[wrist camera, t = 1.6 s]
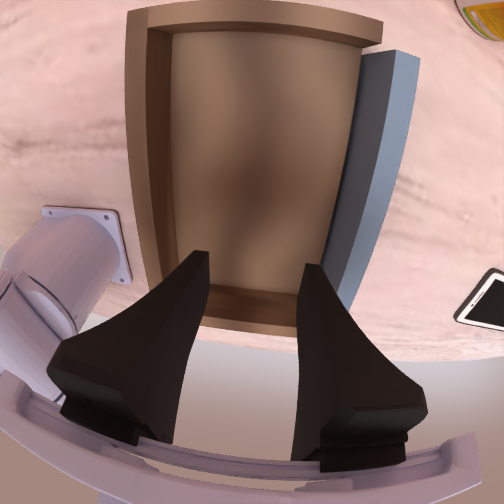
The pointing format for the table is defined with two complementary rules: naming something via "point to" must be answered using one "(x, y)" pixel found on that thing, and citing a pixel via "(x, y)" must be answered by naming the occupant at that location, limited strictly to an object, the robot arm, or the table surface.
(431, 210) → the table surface
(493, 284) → the cell phone
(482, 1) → the supplement bottle
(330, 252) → the panel
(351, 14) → the brown drawer
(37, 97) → the table surface
